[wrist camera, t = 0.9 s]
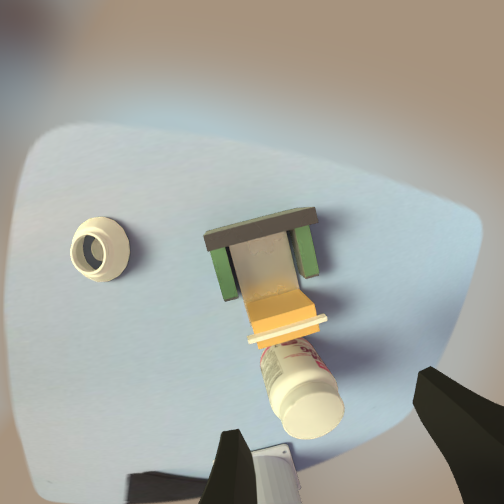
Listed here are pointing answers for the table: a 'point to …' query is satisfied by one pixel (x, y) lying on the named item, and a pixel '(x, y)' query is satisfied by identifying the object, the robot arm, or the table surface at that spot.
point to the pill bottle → (301, 389)
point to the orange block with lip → (283, 318)
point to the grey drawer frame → (264, 254)
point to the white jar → (101, 249)
